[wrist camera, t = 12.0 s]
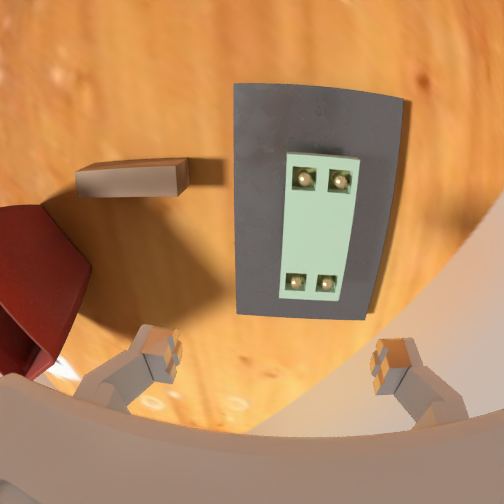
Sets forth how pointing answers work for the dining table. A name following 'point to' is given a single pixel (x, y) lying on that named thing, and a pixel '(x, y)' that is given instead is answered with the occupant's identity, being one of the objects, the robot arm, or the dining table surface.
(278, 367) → the dining table surface
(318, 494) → the robot arm
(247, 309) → the peg assembly base
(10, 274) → the plant pot
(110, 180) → the stand
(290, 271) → the board
